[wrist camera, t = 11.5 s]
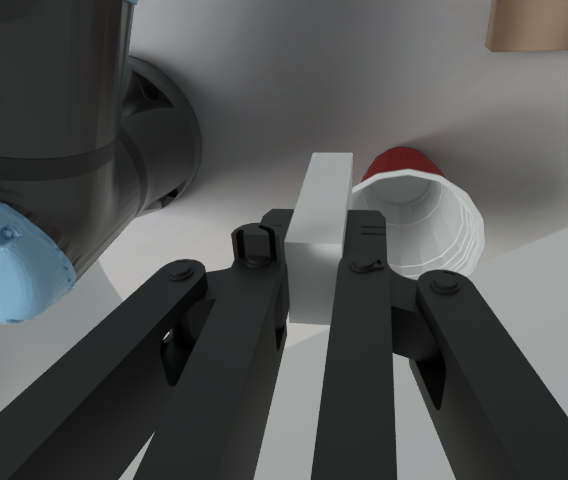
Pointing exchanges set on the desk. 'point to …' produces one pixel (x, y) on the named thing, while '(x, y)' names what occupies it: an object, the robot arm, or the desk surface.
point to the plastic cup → (421, 214)
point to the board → (528, 25)
